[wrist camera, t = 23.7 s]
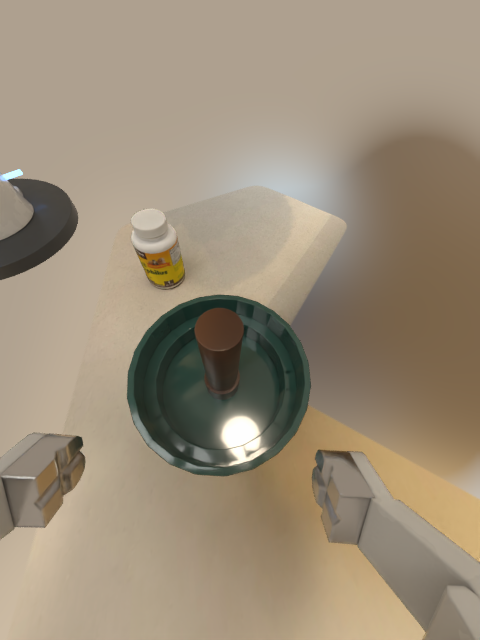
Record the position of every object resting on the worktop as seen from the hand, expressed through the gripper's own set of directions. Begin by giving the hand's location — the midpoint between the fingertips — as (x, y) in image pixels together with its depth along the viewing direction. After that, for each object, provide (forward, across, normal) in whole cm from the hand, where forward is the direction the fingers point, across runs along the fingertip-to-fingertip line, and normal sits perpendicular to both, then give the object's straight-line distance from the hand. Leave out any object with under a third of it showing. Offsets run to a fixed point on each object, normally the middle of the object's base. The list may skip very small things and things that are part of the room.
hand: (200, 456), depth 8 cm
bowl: (+18, 0, +8) cm, 20 cm away
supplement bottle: (+29, +10, -3) cm, 31 cm away
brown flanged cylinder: (+18, 0, +8) cm, 19 cm away
